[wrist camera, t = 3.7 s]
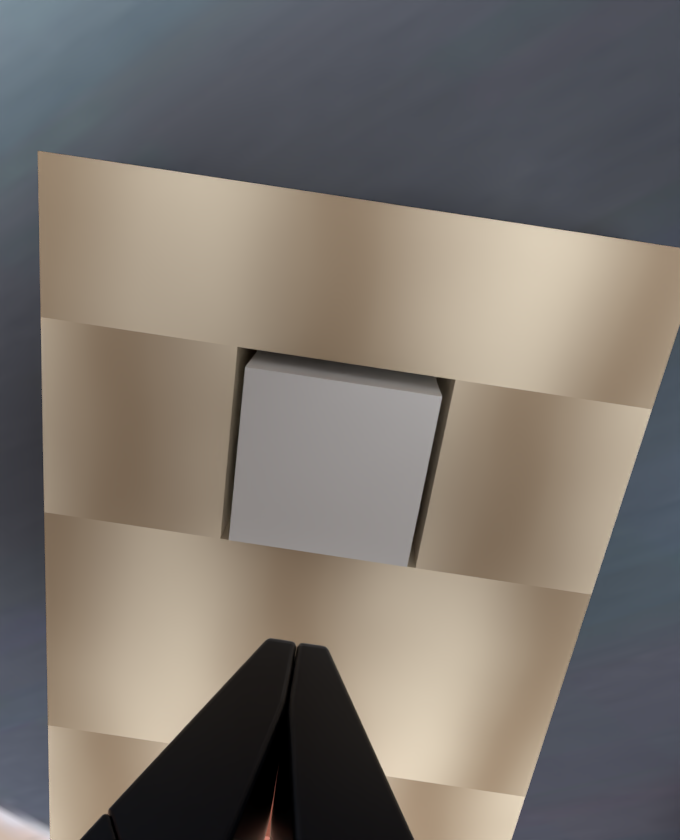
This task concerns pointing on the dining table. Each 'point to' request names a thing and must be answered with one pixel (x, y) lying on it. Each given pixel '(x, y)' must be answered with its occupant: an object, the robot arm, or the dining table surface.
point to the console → (310, 572)
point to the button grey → (332, 457)
